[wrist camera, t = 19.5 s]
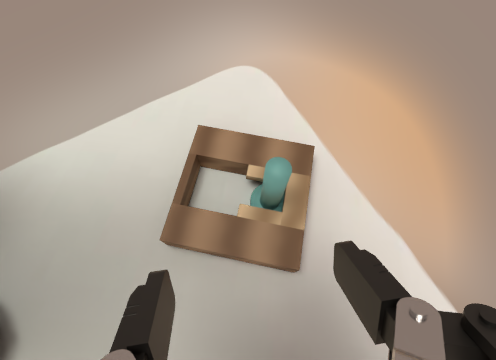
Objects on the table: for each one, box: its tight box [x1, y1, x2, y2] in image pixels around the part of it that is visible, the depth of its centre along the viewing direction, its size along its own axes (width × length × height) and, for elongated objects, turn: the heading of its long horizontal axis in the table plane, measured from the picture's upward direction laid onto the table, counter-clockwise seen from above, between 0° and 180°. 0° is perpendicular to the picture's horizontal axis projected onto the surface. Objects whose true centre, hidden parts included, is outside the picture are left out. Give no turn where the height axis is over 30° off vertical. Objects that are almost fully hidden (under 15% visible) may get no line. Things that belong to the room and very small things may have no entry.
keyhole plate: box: [160, 125, 314, 272], centre depth 34 cm, size 16×16×4 cm
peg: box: [250, 157, 292, 212], centre depth 30 cm, size 5×5×11 cm
